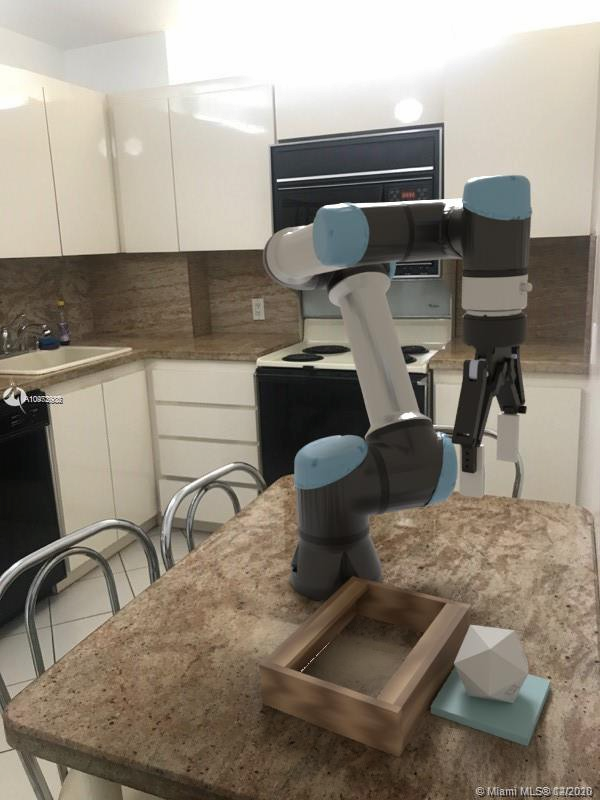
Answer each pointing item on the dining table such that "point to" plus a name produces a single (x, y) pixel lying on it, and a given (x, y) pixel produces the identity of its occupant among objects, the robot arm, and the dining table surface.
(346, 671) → the dining table surface
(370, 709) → the wooden tray
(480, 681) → the die
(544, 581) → the dining table surface
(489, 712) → the pad
